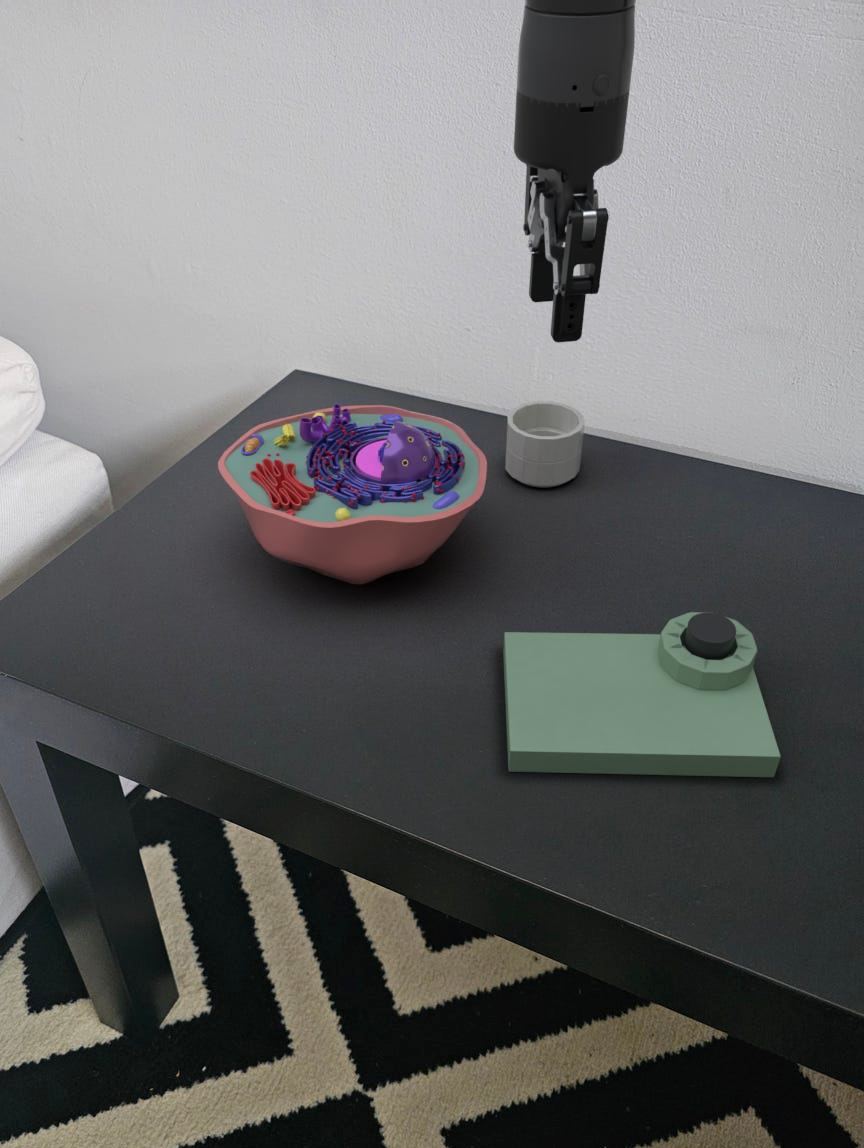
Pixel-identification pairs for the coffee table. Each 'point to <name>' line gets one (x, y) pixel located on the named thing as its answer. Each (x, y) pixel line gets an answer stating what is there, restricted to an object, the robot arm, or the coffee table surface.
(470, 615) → the coffee table surface
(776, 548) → the coffee table surface
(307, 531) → the cell model
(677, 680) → the scale
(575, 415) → the white cup
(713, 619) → the button
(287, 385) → the coffee table surface
